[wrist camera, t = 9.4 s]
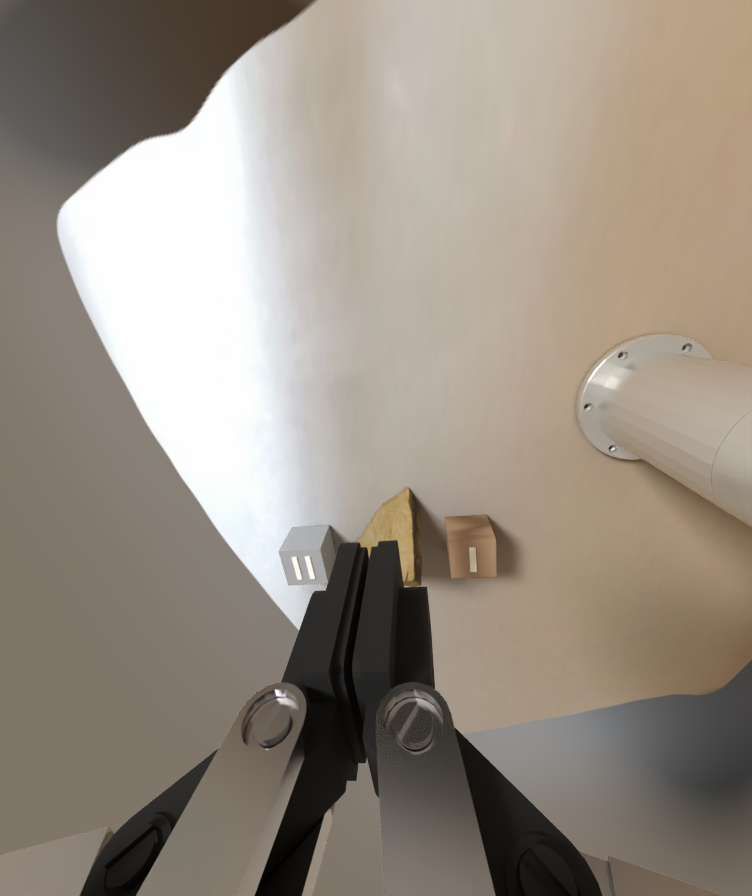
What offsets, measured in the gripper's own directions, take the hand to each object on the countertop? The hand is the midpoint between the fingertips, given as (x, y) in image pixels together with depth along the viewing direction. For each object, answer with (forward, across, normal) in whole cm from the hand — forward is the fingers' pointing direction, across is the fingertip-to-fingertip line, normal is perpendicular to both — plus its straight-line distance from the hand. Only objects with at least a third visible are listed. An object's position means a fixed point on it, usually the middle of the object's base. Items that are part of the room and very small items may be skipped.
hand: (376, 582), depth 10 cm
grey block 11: (+29, +14, +19) cm, 37 cm away
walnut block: (+29, -6, +19) cm, 35 cm away
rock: (+29, +4, +17) cm, 34 cm away
